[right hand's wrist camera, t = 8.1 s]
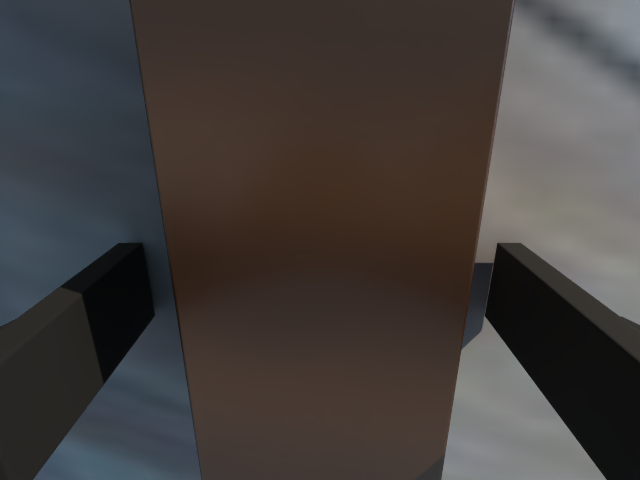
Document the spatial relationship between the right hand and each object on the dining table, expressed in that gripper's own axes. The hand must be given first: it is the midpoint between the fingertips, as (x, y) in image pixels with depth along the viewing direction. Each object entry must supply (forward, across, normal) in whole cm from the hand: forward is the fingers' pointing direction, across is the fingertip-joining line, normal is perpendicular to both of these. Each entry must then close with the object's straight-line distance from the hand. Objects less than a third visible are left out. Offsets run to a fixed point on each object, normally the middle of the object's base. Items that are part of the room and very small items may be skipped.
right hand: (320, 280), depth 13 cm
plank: (0, 0, -14) cm, 14 cm away
